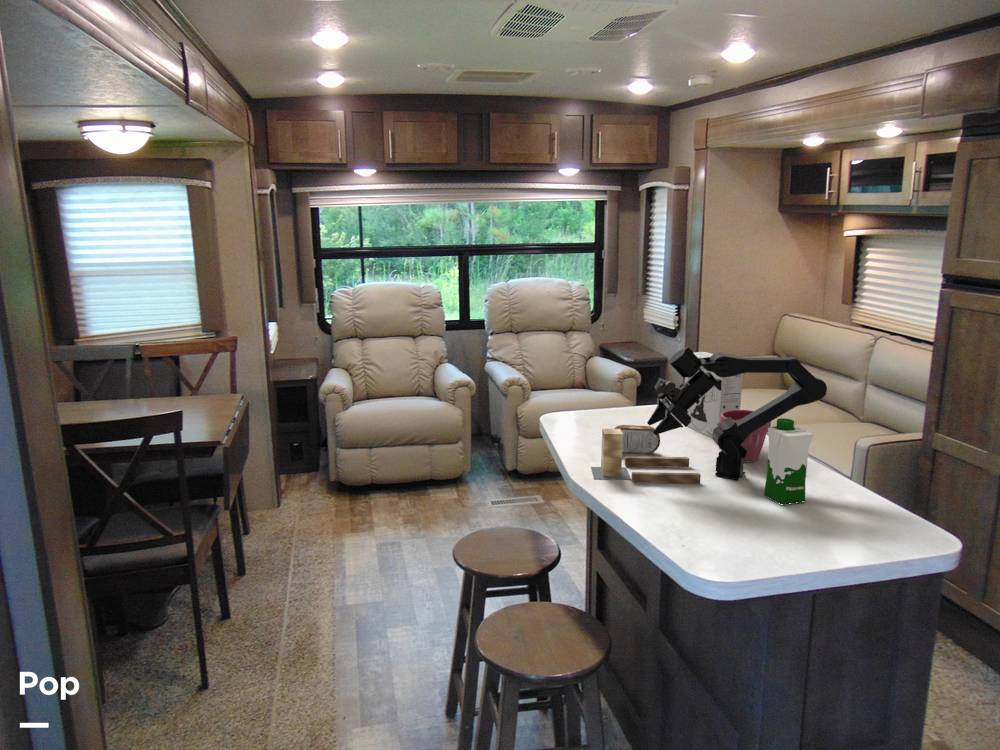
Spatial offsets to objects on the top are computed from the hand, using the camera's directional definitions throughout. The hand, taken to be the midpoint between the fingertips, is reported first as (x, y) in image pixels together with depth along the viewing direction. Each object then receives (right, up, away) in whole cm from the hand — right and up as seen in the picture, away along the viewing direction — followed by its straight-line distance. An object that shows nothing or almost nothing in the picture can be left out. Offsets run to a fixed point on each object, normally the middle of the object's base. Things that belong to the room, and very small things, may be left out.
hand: (651, 428), depth 201 cm
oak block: (-11, -12, +3) cm, 17 cm away
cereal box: (+28, -4, +44) cm, 53 cm away
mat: (-11, -13, +3) cm, 17 cm away
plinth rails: (+3, -13, +3) cm, 13 cm away
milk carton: (+31, -17, -15) cm, 38 cm away
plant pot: (+31, -10, +18) cm, 37 cm away
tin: (-1, -9, +21) cm, 23 cm away
